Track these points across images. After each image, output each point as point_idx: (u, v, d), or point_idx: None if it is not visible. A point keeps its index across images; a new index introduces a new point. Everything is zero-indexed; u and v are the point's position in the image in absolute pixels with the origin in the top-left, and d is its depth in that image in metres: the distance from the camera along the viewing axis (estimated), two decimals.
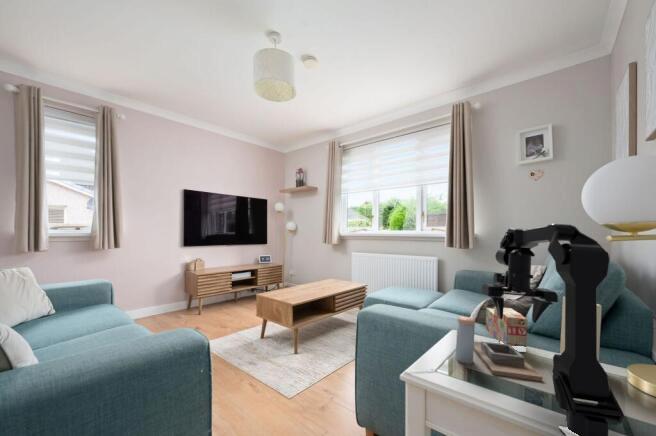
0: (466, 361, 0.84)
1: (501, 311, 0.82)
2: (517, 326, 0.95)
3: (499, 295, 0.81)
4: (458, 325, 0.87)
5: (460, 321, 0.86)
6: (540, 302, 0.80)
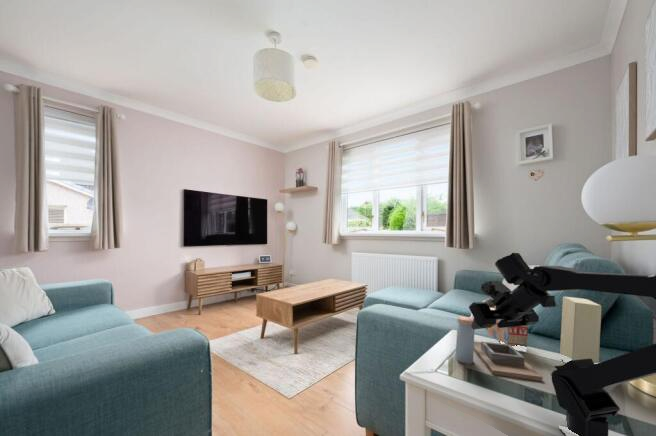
0: (466, 361, 0.84)
1: (479, 328, 0.76)
2: (519, 326, 0.95)
3: (489, 326, 0.71)
4: (458, 325, 0.87)
5: (460, 321, 0.86)
6: (518, 322, 0.75)
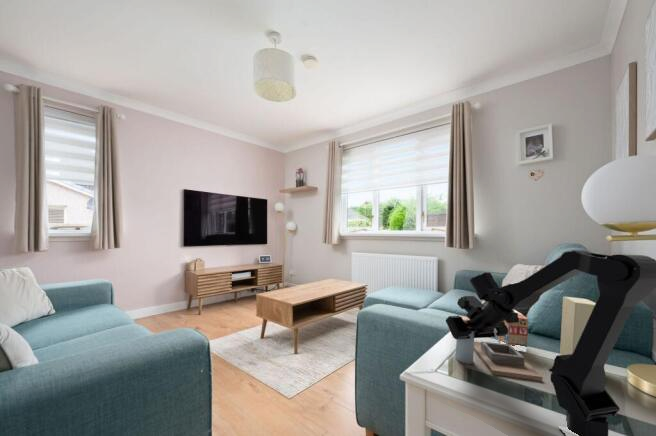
0: (466, 361, 0.84)
1: None
2: (519, 326, 0.95)
3: (463, 338, 0.79)
4: None
5: None
6: (485, 334, 0.83)
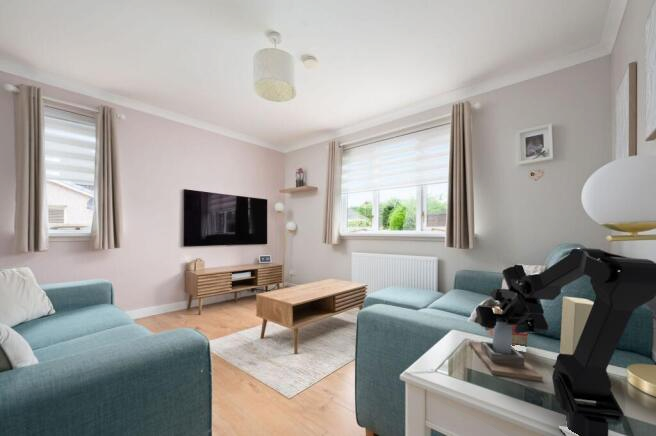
0: None
1: (488, 329, 0.87)
2: None
3: (490, 326, 0.82)
4: None
5: None
6: (528, 328, 0.83)
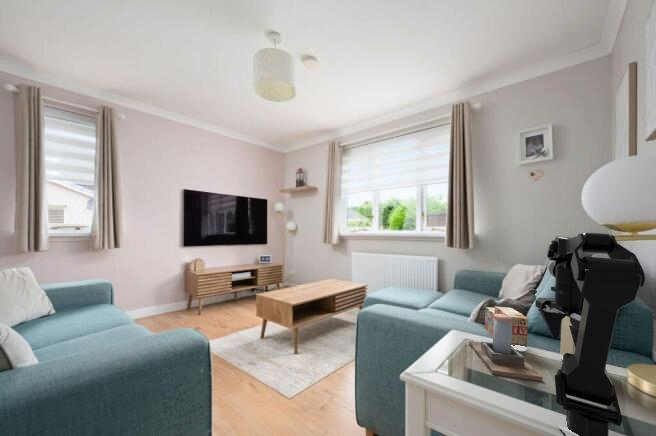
0: None
1: (548, 327, 0.75)
2: (519, 326, 0.95)
3: (540, 307, 0.77)
4: (494, 321, 0.88)
5: (495, 317, 0.88)
6: None
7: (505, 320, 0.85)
